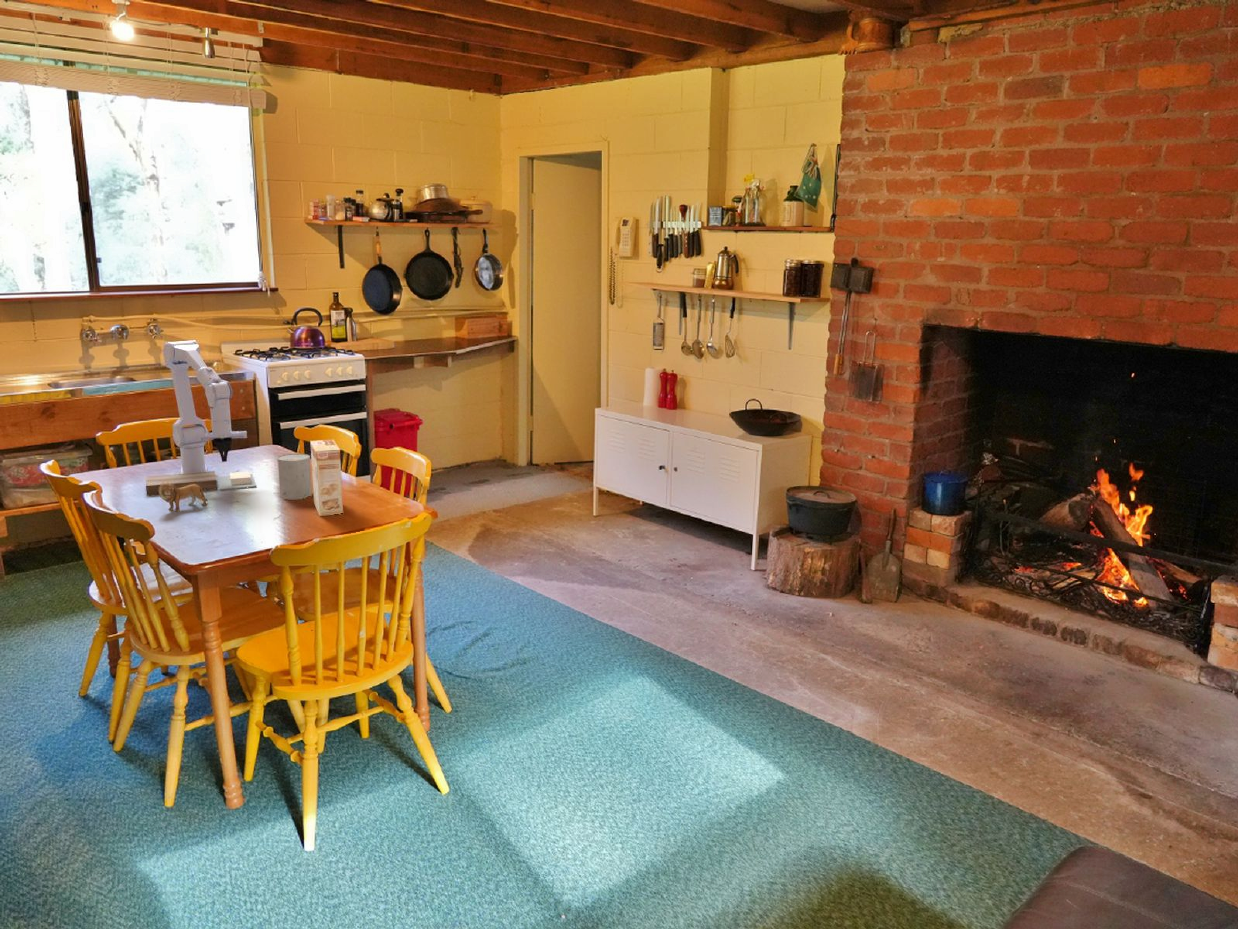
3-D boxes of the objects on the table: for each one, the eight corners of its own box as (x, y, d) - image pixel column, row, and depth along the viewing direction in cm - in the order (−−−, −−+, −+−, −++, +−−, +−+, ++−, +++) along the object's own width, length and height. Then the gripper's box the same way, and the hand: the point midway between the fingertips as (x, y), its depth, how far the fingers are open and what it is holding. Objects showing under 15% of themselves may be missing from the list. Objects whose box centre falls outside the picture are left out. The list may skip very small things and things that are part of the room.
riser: (147, 485, 297) (146, 476, 297) (215, 479, 306) (214, 471, 305) (146, 495, 287) (145, 486, 286) (217, 489, 295) (216, 480, 295)
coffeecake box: (344, 514, 273) (340, 449, 268) (318, 516, 270) (314, 451, 265) (337, 500, 286) (334, 438, 281) (313, 503, 283) (309, 440, 278)
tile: (248, 471, 308) (249, 477, 308) (229, 472, 305) (229, 478, 306) (250, 477, 301) (251, 483, 301) (230, 478, 298) (231, 484, 299)
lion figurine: (167, 515, 268) (164, 485, 266) (156, 512, 270) (153, 482, 268) (212, 504, 280) (210, 475, 278) (201, 501, 283) (199, 472, 280)
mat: (216, 478, 308) (216, 476, 308) (252, 475, 312) (252, 473, 312) (219, 490, 294) (219, 489, 294) (256, 487, 298) (256, 485, 298)
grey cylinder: (275, 494, 291) (273, 455, 288) (306, 489, 297) (303, 452, 294) (285, 501, 284) (283, 462, 281) (316, 496, 290) (314, 458, 287)
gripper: (196, 423, 290) (200, 465, 293) (246, 420, 296) (249, 462, 300) (195, 419, 296) (199, 460, 300) (244, 416, 302) (247, 457, 306)
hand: (224, 461), depth 300 cm, fingers closed
